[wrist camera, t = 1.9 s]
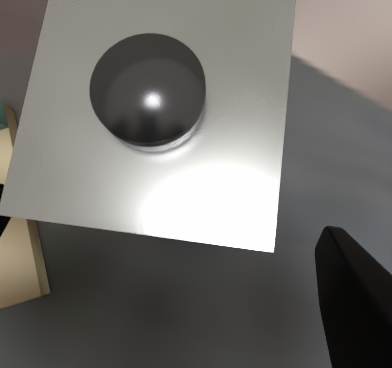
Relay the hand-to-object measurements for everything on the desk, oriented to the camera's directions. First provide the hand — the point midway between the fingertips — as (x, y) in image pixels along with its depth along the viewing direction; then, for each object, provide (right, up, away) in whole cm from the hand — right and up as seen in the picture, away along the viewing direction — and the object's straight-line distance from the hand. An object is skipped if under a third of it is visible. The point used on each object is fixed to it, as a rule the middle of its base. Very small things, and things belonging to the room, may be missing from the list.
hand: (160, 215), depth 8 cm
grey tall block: (+1, 0, +10) cm, 10 cm away
